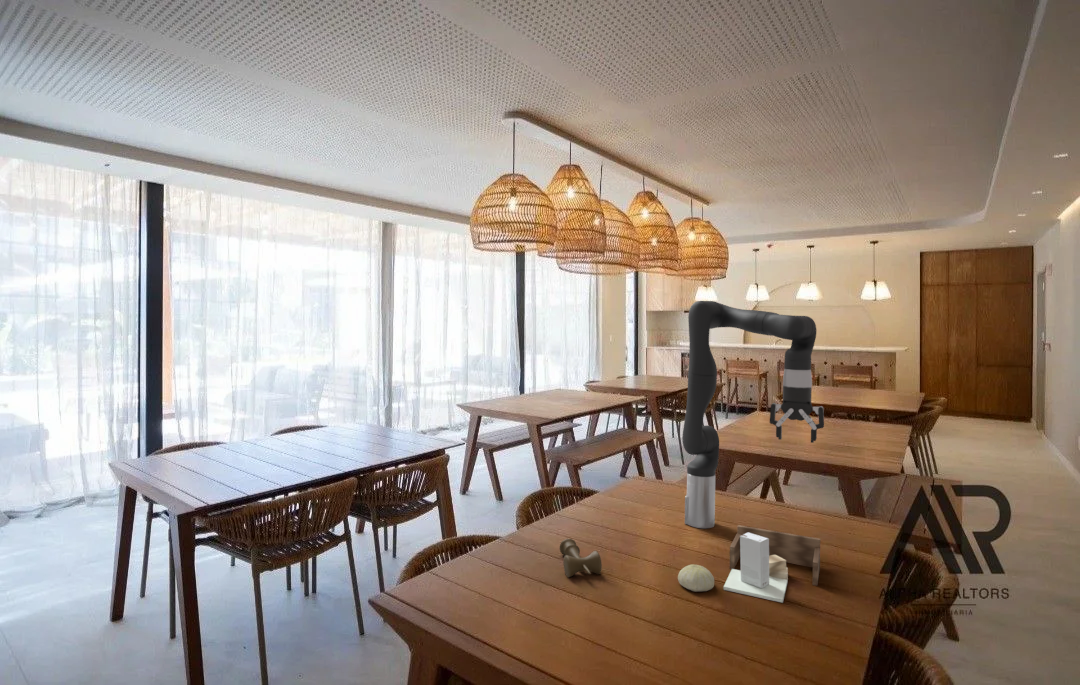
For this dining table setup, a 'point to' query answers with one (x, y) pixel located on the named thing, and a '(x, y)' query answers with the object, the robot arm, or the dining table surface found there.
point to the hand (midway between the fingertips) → (796, 440)
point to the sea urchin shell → (696, 578)
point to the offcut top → (776, 563)
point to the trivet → (769, 592)
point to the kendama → (578, 559)
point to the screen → (783, 548)
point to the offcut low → (780, 574)
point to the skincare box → (754, 559)
